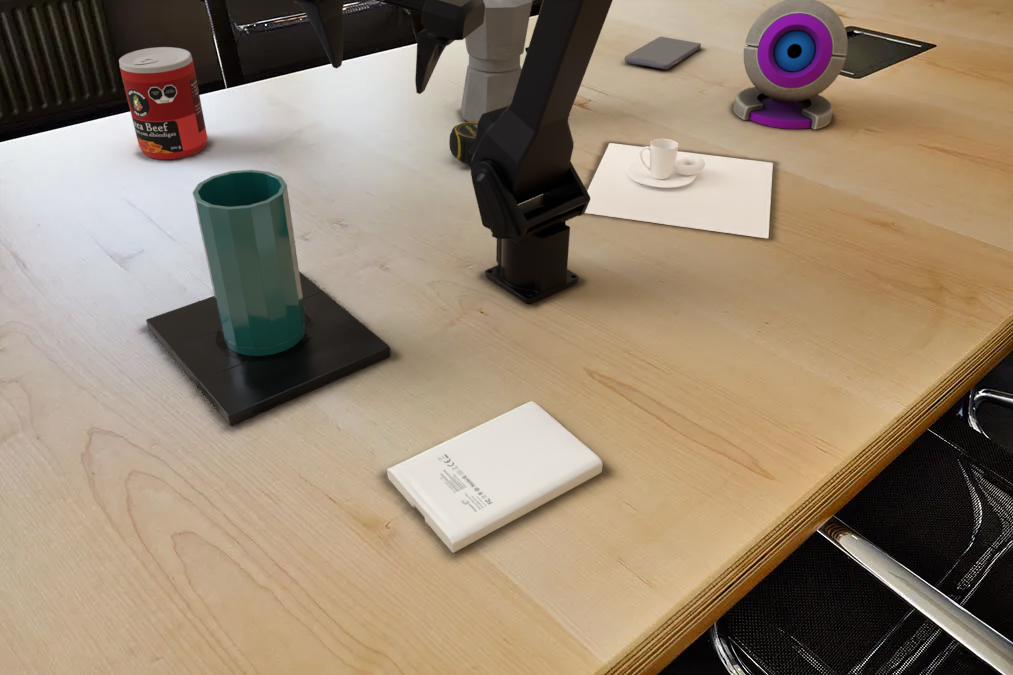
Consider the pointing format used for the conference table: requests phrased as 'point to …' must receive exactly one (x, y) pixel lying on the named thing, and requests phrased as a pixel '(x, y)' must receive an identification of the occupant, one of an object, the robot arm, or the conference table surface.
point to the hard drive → (494, 474)
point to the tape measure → (463, 141)
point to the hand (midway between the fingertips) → (378, 79)
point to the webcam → (792, 65)
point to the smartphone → (662, 52)
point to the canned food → (164, 102)
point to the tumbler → (252, 260)
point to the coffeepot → (495, 57)
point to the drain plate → (272, 378)
